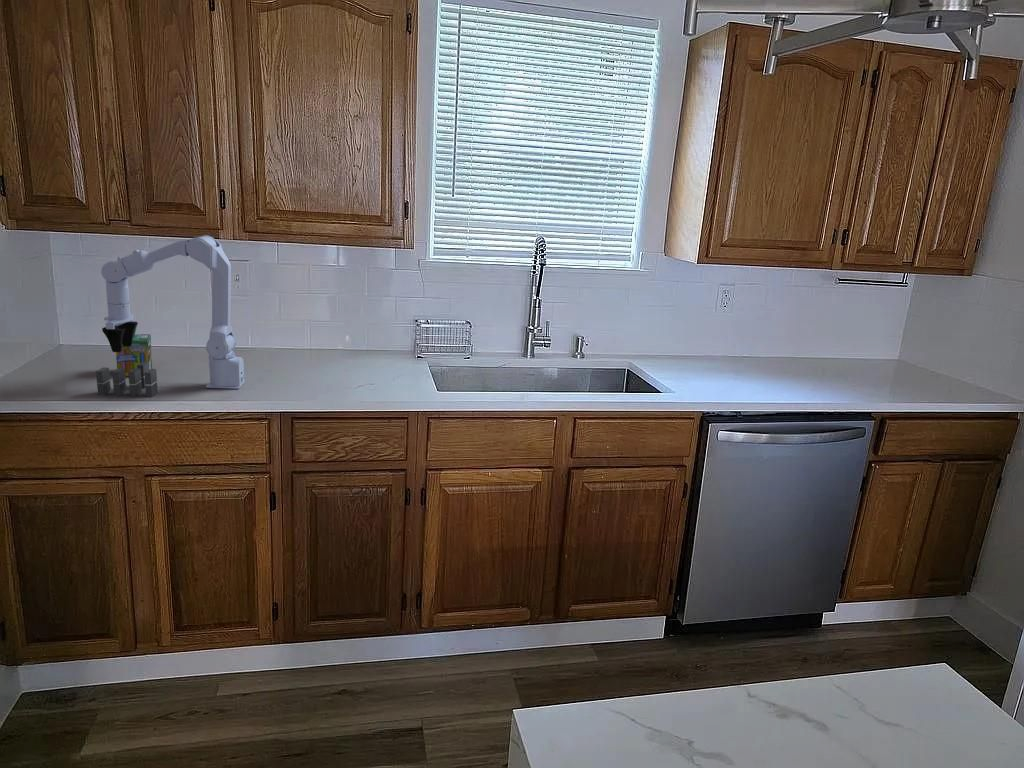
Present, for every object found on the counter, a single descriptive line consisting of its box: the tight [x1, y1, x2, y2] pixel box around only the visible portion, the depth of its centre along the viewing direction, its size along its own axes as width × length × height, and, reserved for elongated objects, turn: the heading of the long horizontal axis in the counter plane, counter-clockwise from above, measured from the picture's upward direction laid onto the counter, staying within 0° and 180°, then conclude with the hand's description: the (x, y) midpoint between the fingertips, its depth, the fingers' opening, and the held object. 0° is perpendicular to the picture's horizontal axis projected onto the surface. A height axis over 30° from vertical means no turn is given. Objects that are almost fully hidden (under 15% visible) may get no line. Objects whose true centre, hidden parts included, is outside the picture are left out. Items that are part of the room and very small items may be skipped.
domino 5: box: [144, 368, 159, 398], centre depth 203 cm, size 2×4×7 cm, turn 7°
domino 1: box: [95, 366, 112, 396], centre depth 202 cm, size 2×4×7 cm, turn 7°
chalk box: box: [115, 325, 153, 377], centre depth 223 cm, size 9×9×15 cm
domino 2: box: [111, 368, 127, 397], centre depth 202 cm, size 2×4×7 cm, turn 7°
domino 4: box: [137, 362, 149, 390], centre depth 210 cm, size 2×4×7 cm, turn 7°
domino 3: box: [128, 368, 143, 398], centre depth 203 cm, size 2×4×7 cm, turn 7°
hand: (122, 349), depth 211 cm, fingers open, 7 cm apart
